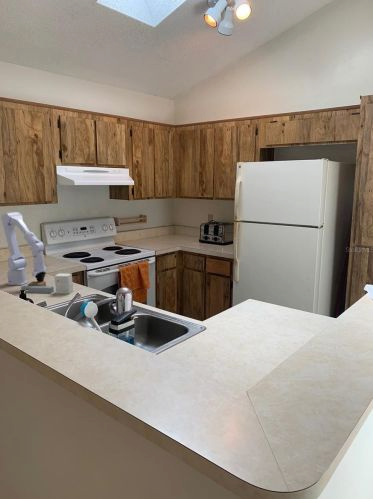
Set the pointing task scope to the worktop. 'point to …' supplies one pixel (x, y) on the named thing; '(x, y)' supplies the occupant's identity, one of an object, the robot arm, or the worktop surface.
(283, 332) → the worktop surface
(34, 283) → the walnut block
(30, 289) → the board
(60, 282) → the small box
